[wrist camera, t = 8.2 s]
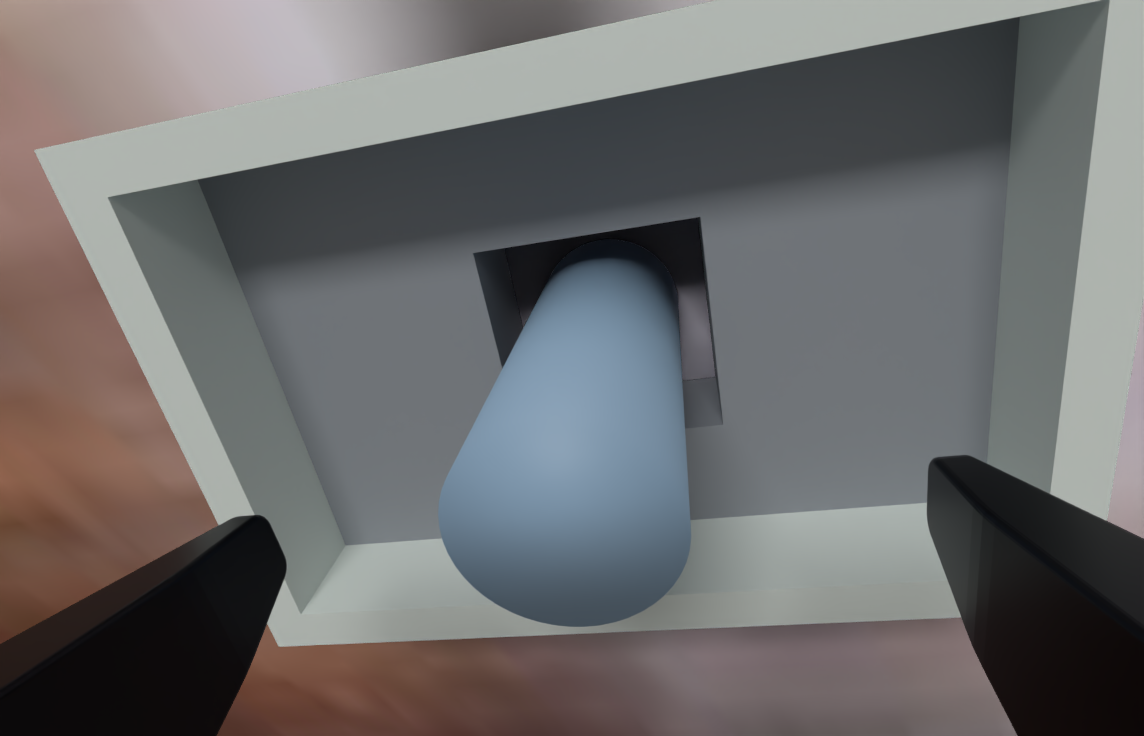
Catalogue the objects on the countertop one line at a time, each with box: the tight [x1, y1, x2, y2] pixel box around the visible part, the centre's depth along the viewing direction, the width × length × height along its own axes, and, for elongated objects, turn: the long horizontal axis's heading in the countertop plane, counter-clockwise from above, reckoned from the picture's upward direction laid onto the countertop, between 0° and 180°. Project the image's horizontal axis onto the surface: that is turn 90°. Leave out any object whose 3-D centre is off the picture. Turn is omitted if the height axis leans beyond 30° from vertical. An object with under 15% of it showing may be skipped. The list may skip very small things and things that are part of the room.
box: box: [34, 0, 1144, 647], centre depth 15 cm, size 12×18×5 cm, turn 101°
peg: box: [438, 239, 691, 627], centre depth 13 cm, size 3×3×9 cm
